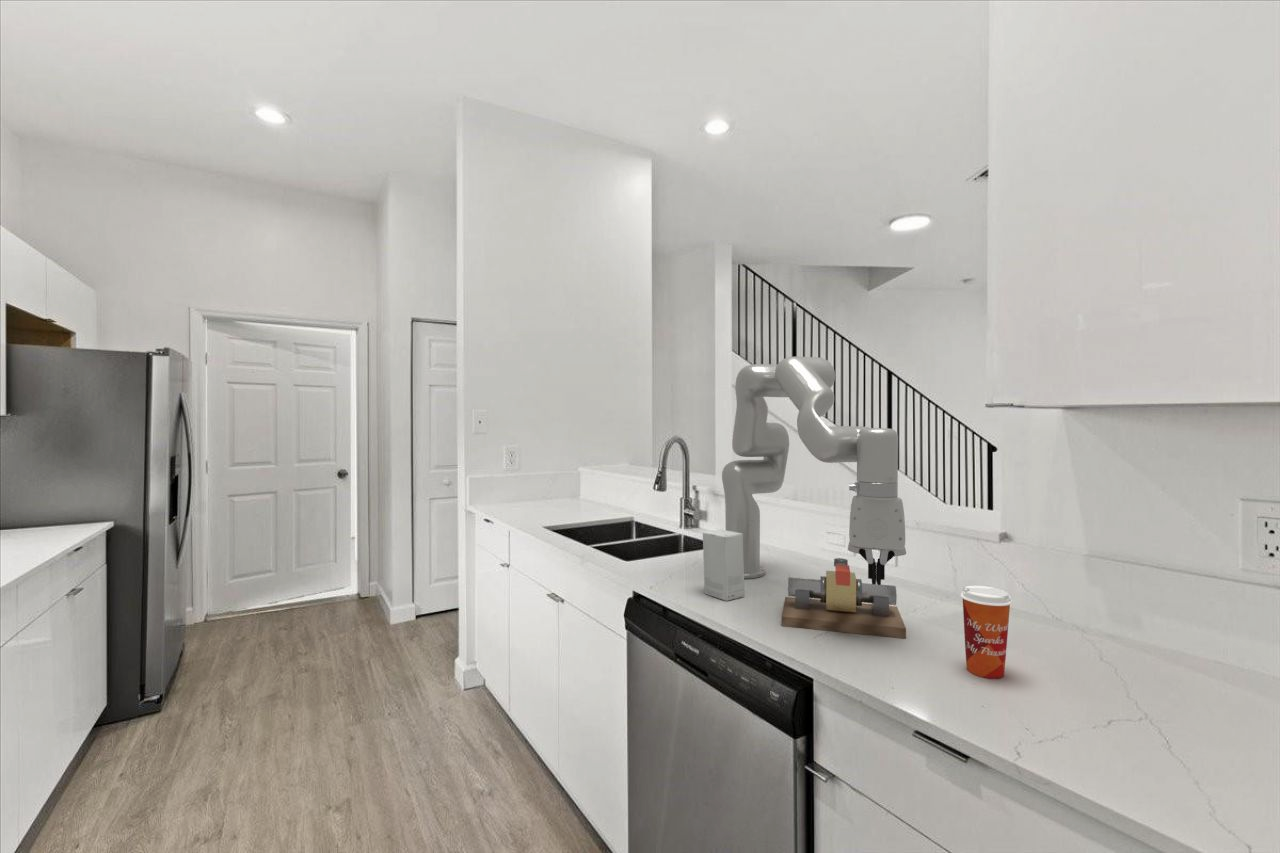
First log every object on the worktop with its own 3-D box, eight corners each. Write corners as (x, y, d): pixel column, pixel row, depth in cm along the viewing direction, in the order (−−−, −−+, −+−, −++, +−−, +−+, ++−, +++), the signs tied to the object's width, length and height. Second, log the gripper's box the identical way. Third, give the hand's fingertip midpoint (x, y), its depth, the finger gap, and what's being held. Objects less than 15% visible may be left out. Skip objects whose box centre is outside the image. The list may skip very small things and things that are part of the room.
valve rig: (781, 625, 124) (781, 573, 124) (785, 605, 137) (785, 558, 137) (905, 638, 117) (906, 583, 117) (896, 615, 130) (897, 565, 130)
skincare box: (745, 597, 143) (745, 533, 143) (724, 602, 140) (725, 536, 139) (721, 589, 150) (721, 528, 150) (701, 593, 147) (701, 530, 146)
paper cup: (963, 677, 100) (964, 595, 99) (956, 659, 107) (957, 582, 106) (1017, 684, 97) (1018, 600, 97) (1006, 666, 104) (1007, 587, 104)
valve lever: (833, 567, 130) (833, 554, 130) (847, 568, 129) (847, 555, 129) (835, 584, 117) (835, 570, 117) (850, 586, 116) (850, 571, 116)
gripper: (836, 491, 116) (836, 584, 116) (920, 494, 111) (919, 592, 111) (837, 486, 123) (836, 574, 123) (916, 489, 118) (915, 581, 118)
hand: (876, 582), depth 117 cm, fingers closed
